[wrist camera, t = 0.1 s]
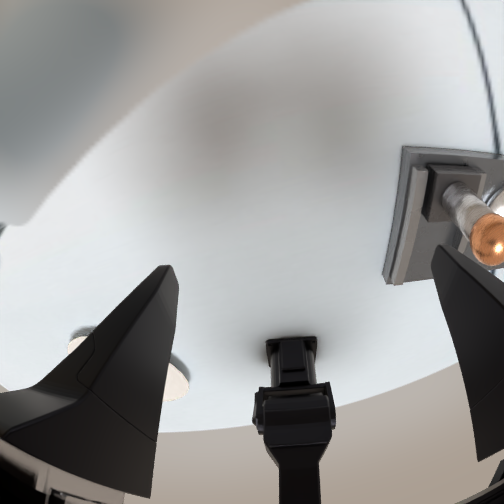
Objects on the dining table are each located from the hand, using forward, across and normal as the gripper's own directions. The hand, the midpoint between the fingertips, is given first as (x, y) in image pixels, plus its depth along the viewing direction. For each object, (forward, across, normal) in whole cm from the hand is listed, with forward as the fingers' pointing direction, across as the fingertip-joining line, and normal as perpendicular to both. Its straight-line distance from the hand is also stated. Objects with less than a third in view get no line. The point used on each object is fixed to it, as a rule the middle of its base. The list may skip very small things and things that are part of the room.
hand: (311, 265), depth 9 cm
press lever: (+13, -14, +4) cm, 19 cm away
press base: (+15, -20, +8) cm, 26 cm away
